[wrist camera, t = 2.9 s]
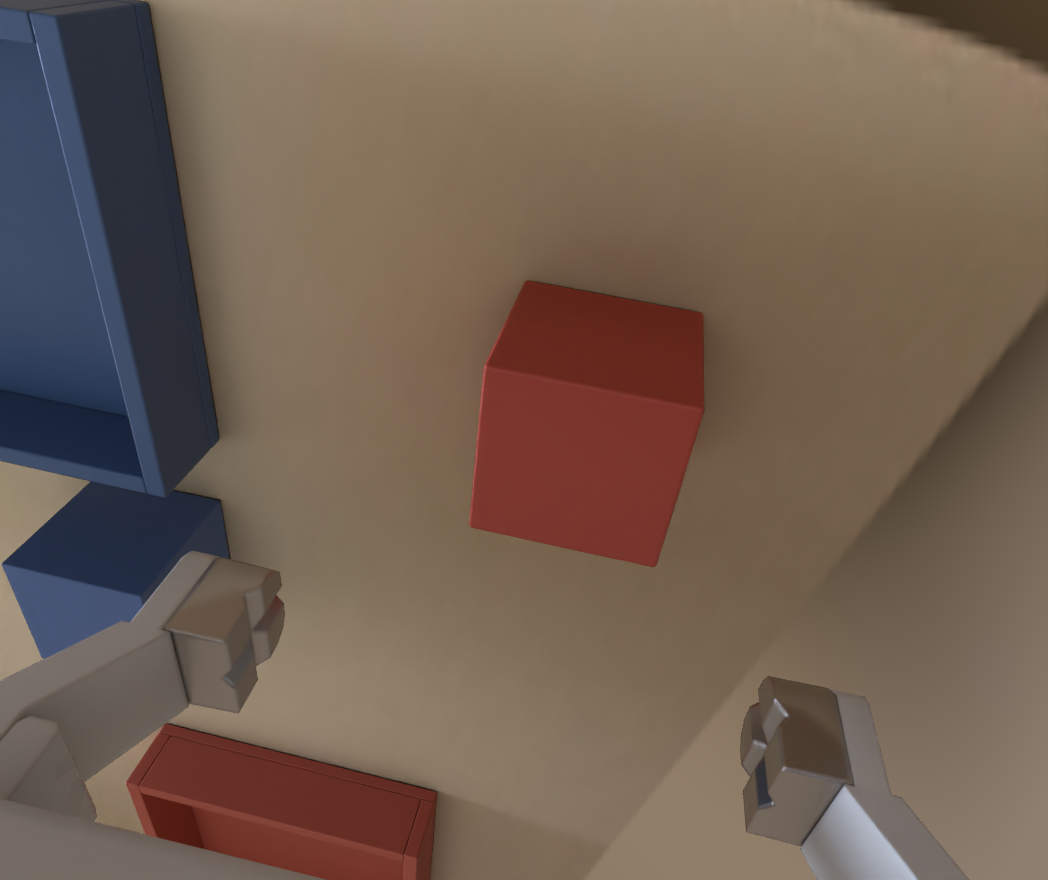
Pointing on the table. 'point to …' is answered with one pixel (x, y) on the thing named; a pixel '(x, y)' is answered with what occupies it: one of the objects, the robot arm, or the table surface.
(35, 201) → the blue tray
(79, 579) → the blue block
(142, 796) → the red tray
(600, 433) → the red block
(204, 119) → the table surface
